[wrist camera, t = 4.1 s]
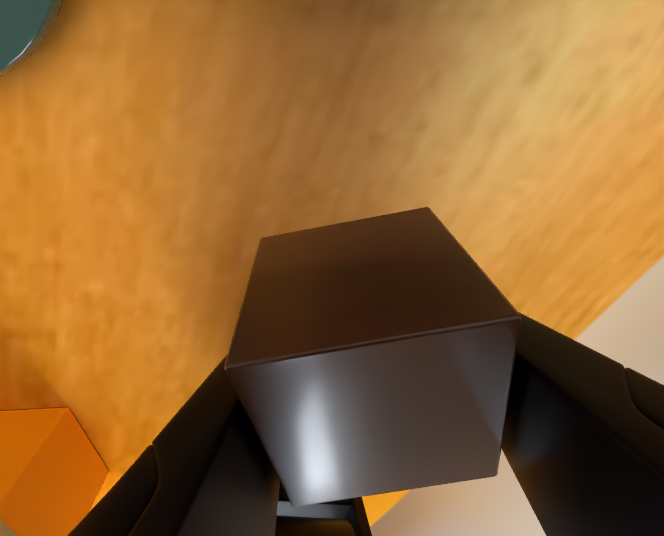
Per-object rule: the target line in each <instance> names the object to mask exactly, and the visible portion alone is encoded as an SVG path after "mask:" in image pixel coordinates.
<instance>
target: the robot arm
mask: <svg viewBox="0 0 664 536" xmlns="http://www.w3.org/2000/svg"><path fill="white" fill-rule="evenodd" d="M518 313H519V312H518ZM519 314H520V316H521V324H520V331H519V337H518V344H517V350H516V357H515V363H514V370H513V376H512V382H511V389H510V395H509V402H508V408H507V415H506V421H505V428H504V434H503V441H502V447H501V449H502V450H503V452H504V454H505V456H506V458H507V460H508V462H509V464H510V466H511V468H512V470H513V472H514V473H515V476H516V478H517V479H518V481H519V483H520V485H521V487H522V489H523V491H524V493H525V495H526V497H527V499H528V501H529V503H530V505H531V507H532V509H533V511H534V513H535V514H536V516H537V518H538V520H539V522H540V524H541V526H542V528H543V530H544V532H545V534H546V536H664V385H662V384H660V383H658V382H656V381H654V380H652V379H650V378H648V377H646V376H644V375H642V374H640V373H638V372H636V371H634V370H632V369H630V368H625V369H624V366H623V365H622V364H620V363H618V362H616V361H614V360H612V359H610V358H608V357H606V356H604V355H602V354H600V353H598V352H596V351H594V350H592V349H590V348H588V347H586V346H584V345H582V344H581V343H578V342H577V341H575V340H573V339H571V338H569V337H567V336H565V335H563V334H561V333H559V332H557V331H555V330H553V329H551V328H549V327H547V326H545V325H543V324H541V323H539V322H537V321H535V320H533V319H531V318H529V317H527V316H525V315H523V314H521V313H519ZM226 358H227V355H226V356H225V358H224V359H223V360H222V361H221V362H220V363H219V365H218V366H217V367H216V368H215V369H214V370H213V372H212V373H211V374H210V375H209V376H208V377H207V379H206V380H205V381H204V382H203V383H202V384H201V386H200V387H199V388H198V389H197V390H196V391H195V393H194V394H193V395H192V396H191V397H190V398H189V400H188V401H187V402H186V403H185V404H184V405H183V407H182V408H181V409H180V410H179V411H178V412H177V414H176V415H175V416H174V417H173V418H172V419H171V421H170V422H169V423H168V424H167V425H166V426H165V428H164V429H163V430H162V431H161V432H160V433H159V435H158V436H157V437H156V438H155V439H154V440H153V442H152V445H153V446H152V445H149V446H148V447H147V448H146V450H145V451H144V452H143V453H142V454H141V455H140V457H139V458H138V459H137V460H136V461H135V462H134V464H133V465H132V466H131V467H130V468H129V469H128V470H127V471H126V473H125V474H124V475H123V476H122V477H121V478H120V479H119V480H118V482H117V483H116V484H115V485H114V486H113V487H112V488H111V489H110V491H109V492H108V493H107V494H106V495H105V496H104V497H103V498H102V499H101V500H100V501H99V502H98V503H97V505H96V506H95V507H94V508H93V509H92V510H91V511H90V512H89V513H88V514H87V515H86V516H85V517H84V518H83V519H82V520H81V521H80V522H79V524H78V525H77V526H76V527H75V528H74V529H73V530H72V531H71V532H70V533H69V534H68V535H67V536H372V535H371V530H370V527H369V523H368V519H367V515H366V512H365V508H364V504H363V500H362V497H356V498H349V499H343V500H336V501H330V502H323V503H316V504H310V505H303V506H297V507H294V506H292V504H291V502H290V500H289V498H288V496H287V494H286V492H285V490H284V488H283V486H282V484H281V482H280V480H279V478H278V476H277V474H276V472H275V470H274V468H273V466H272V464H271V462H270V460H269V458H268V456H267V454H266V452H265V450H264V448H263V446H262V444H261V442H260V440H259V438H258V436H257V434H256V432H255V430H254V428H253V426H252V423H251V421H250V419H249V417H248V415H247V413H246V411H245V409H244V407H243V405H242V403H241V401H240V399H239V397H238V395H237V393H236V391H235V389H234V387H233V385H232V383H231V381H230V379H229V377H228V375H227V373H226V371H225V368H224V365H225V361H226Z"/></svg>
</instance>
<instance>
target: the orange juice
mask: <svg viewBox="0 0 664 536" xmlns="http://www.w3.org/2000/svg"><path fill="white" fill-rule="evenodd" d="M108 472H109V470H108V469H107V467H106V466H105V464H104V463H103V461H102V459H101V458H100V456H99V455H98V453H97V452H96V450H95V448H94V447H93V445H92V444H91V442H90V441H89V439H88V437H87V436H86V434H85V433H84V431H83V430H82V428H81V426H80V425H79V423H78V422H77V420H76V419H75V417H74V415H73V414H72V412H71V411H70V409H69V408H68V407H65V408H47V409H29V410H11V411H0V536H67V535H68V534H69V533H70V532H71V531H72V530H73V529H74V528H75V527H76V526H77V525H78V524H79V522H80V521H81V520H82V519H83V518H84V517H85V516H86V515H87V514H88V512H89V510H90V508H91V506H92V504H93V502H94V500H95V498H96V496H97V494H98V492H99V490H100V488H101V486H102V484H103V482H104V480H105V478H106V476H107V474H108Z"/></svg>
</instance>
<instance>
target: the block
mask: <svg viewBox="0 0 664 536" xmlns="http://www.w3.org/2000/svg"><path fill="white" fill-rule="evenodd" d="M520 324H521V316H520V314H519V313H518V312H517V310H516V309H515V308H514V307H513V306H512V304H511V303H510V302H509V301H508V300H507V299H506V297H505V296H504V295H503V294H502V293H501V292H500V290H499V289H498V288H497V287H496V286H495V284H494V283H493V282H492V281H491V280H490V279H489V277H488V276H487V275H486V274H485V273H484V272H483V270H482V269H481V268H480V267H479V266H478V264H477V263H476V262H475V261H474V260H473V259H472V257H471V256H470V255H469V254H468V253H467V252H466V250H465V249H464V248H463V247H462V246H461V245H460V243H459V242H458V241H457V240H456V239H455V237H454V236H453V235H452V234H451V233H450V232H449V230H448V229H447V228H446V227H445V226H444V225H443V223H442V222H441V221H440V220H439V219H438V217H437V216H436V215H435V214H434V213H433V212H432V210H431V209H430V208H429V207H424V208H419V209H414V210H408V211H403V212H398V213H392V214H387V215H381V216H376V217H371V218H365V219H360V220H355V221H349V222H344V223H339V224H333V225H328V226H322V227H317V228H312V229H306V230H301V231H296V232H290V233H285V234H280V235H274V236H269V237H263V238H261V239H260V242H259V246H258V249H257V253H256V256H255V260H254V263H253V267H252V270H251V274H250V277H249V281H248V284H247V288H246V291H245V295H244V298H243V302H242V305H241V309H240V312H239V316H238V319H237V323H236V326H235V330H234V333H233V337H232V340H231V344H230V347H229V351H228V354H227V358H226V361H225V365H224V368H225V371H226V373H227V375H228V377H229V379H230V381H231V383H232V385H233V387H234V389H235V391H236V393H237V395H238V397H239V399H240V401H241V403H242V405H243V407H244V409H245V411H246V413H247V415H248V417H249V419H250V421H251V423H252V426H253V428H254V430H255V432H256V434H257V436H258V438H259V440H260V442H261V444H262V446H263V448H264V450H265V452H266V454H267V456H268V458H269V460H270V462H271V464H272V466H273V468H274V470H275V472H276V474H277V476H278V478H279V480H280V482H281V484H282V486H283V488H284V490H285V492H286V494H287V496H288V498H289V500H290V502H291V504H292V506H294V507H297V506H303V505H310V504H316V503H323V502H330V501H336V500H343V499H349V498H356V497H362V496H369V495H375V494H382V493H389V492H395V491H402V490H408V489H415V488H421V487H428V486H434V485H441V484H448V483H454V482H460V481H467V480H474V479H480V478H487V477H494V476H496V475H497V473H498V466H499V460H500V453H501V447H502V441H503V434H504V428H505V421H506V415H507V408H508V402H509V395H510V389H511V382H512V376H513V370H514V363H515V357H516V350H517V344H518V337H519V331H520Z"/></svg>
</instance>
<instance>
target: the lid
mask: <svg viewBox="0 0 664 536" xmlns="http://www.w3.org/2000/svg"><path fill="white" fill-rule="evenodd" d="M62 1H63V0H0V76H2V75H4V74H6V73H8V72H10V71H12V70H13V69H15V68H16V67H17V66H18V65H20V64H21V63H22V62H23V61H25V60H26V59H27V58H28V57H29V56H31V54H32V53H33V52H34V51H35V50H36V48H37V47H38V46H39V45H40V44H41V42H42V41H43V40H44V39H45V37H46V36H47V34H48V32H49V30H50V28H51V27H52V25H53V23H54V21H55V19H56V17H57V16H58V13H59V10H60V7H61V4H62Z"/></svg>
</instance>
